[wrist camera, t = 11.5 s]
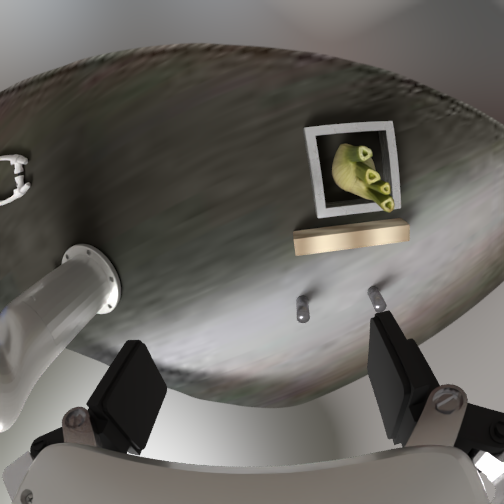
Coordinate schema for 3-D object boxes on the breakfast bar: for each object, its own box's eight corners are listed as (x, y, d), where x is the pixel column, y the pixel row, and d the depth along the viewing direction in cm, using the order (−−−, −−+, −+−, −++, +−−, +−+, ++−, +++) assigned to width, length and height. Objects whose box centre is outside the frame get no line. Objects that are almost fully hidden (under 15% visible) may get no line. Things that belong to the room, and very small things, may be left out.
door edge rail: (295, 246, 35) (295, 255, 32) (293, 231, 34) (293, 239, 31) (400, 232, 32) (409, 240, 29) (400, 217, 32) (409, 224, 29)
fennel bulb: (328, 143, 30) (351, 143, 19) (368, 144, 29) (409, 146, 18) (330, 192, 32) (352, 218, 21) (369, 191, 31) (408, 218, 20)
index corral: (315, 212, 33) (317, 218, 30) (302, 129, 29) (304, 127, 27) (392, 203, 31) (401, 208, 28) (384, 122, 28) (392, 121, 25)
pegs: (297, 306, 38) (297, 323, 34) (295, 296, 37) (296, 313, 34) (378, 295, 36) (385, 311, 32) (378, 285, 35) (386, 300, 32)
